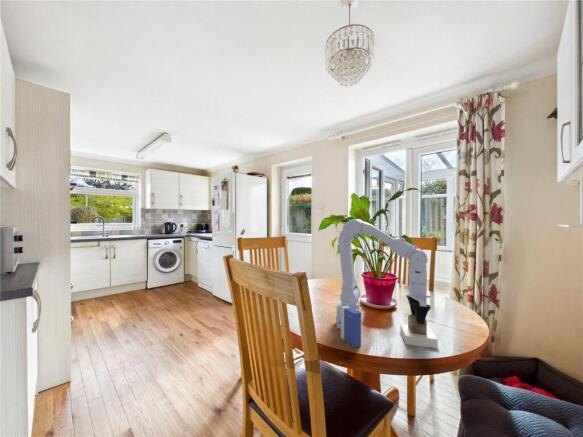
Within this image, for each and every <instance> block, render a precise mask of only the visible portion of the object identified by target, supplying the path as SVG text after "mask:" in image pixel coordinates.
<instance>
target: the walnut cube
mask: <svg viewBox="0 0 583 437" xmlns="http://www.w3.org/2000/svg"><path fill="white" fill-rule="evenodd" d="M407 318H408V320H407V322H408V323H407V325H408V328H409V330H410V332H411V334H421V335H427V327H428V325H427V323H428V321H427V318H426V319H425V323H424V324H418V323H417V321H416V315H412V314H411V313H410V314H409V313H408V314H407Z"/></svg>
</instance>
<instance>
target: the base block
mask: <svg viewBox="0 0 583 437" xmlns="http://www.w3.org/2000/svg"><path fill="white" fill-rule="evenodd" d="M399 329H400V330H399V331H400V334H401V337H402V338H403V340H404V343H405V345H406V346H415V347H425V348H432V349H438V348H439V347H438V344H439V342H438V337H437V336H436V335H435V333H434V332H433V330H431V328H430V327H429V326H427V335H421V334H411V332H410V330H409V328H408V324H403V323H402V324H400V328H399Z"/></svg>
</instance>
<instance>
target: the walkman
mask: <svg viewBox="0 0 583 437" xmlns="http://www.w3.org/2000/svg"><path fill="white" fill-rule="evenodd" d="M340 338H341V339H342V340H343V341H345V342H347V344H348V345H350V346H352V347H353V348H358V347H361V346H362V312H361V311H360V312H359V311H358V310H355V309H353V308H351V307H349V306H341V328H340Z"/></svg>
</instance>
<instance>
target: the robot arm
mask: <svg viewBox="0 0 583 437" xmlns="http://www.w3.org/2000/svg"><path fill="white" fill-rule="evenodd" d="M359 235H370V236H372V237H373V238H375V239H377V240H378V241H381V242H383V243H384V244H386V245H387V246H388V247H389V250H390V251H391V252H393V253H395V254H396V255H399V257H401V258H403V259H405V260H408V261H409V270H408V274H409V275H408V276H409V277H408V288H409V289H408V290H409V291H408V294H406V296H405V297H406V298H407V301H408V303H409V308H410V314H411V315H416V321H417V323H418V324H424V323H425V319H426V320H427V315H428V314H429V313H428V312H429V311H430V309H432V308H431V305H430V304H428V303H427V300H428V299H429V298H431V294H429V293H428V292H427V286H428V282H427V281H428V280H427V279H428V277H427V276H428V274H427V263H428V258H427V257H428V256H427V253H426V252H425V251H424V250H423V249H422V248H418V246H417V245H413V244H411V243H410V242H408V241H406V239H405V238H404V237H398V236H396V237H392V236H391V235H389V234H388V233H385V232H384V231H383V230H381V229H379V228H378V227H376V226H375V225H373V224H371V223H369V222H367V221H363V220H362V219H361V218H360V219H359V218H357V219H356V218H355V219H354V218H352V219H349V220H347V222H345V223H344V224H343V226H342V230H341V231H340V234H339V236H338V239H337V242H338V250H339V257H340V258H339V259H340V266H341V267H340V268H341V269H340V270H341V277H342V284H341V293H340V295H339V298H340V302H337V303H336V316H335V321H336V328H337V329H341V306H349V307H351V308H353V309H355V310H358V311H359V312H361V311H360V302H359V299H360V297H361V290H360V289H359V287H358V282H357V280H356V276H355V267H354V258H353V256H354V255H353V249H352V242H353V241H354V240H355V238H356V237H358V236H359Z"/></svg>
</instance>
